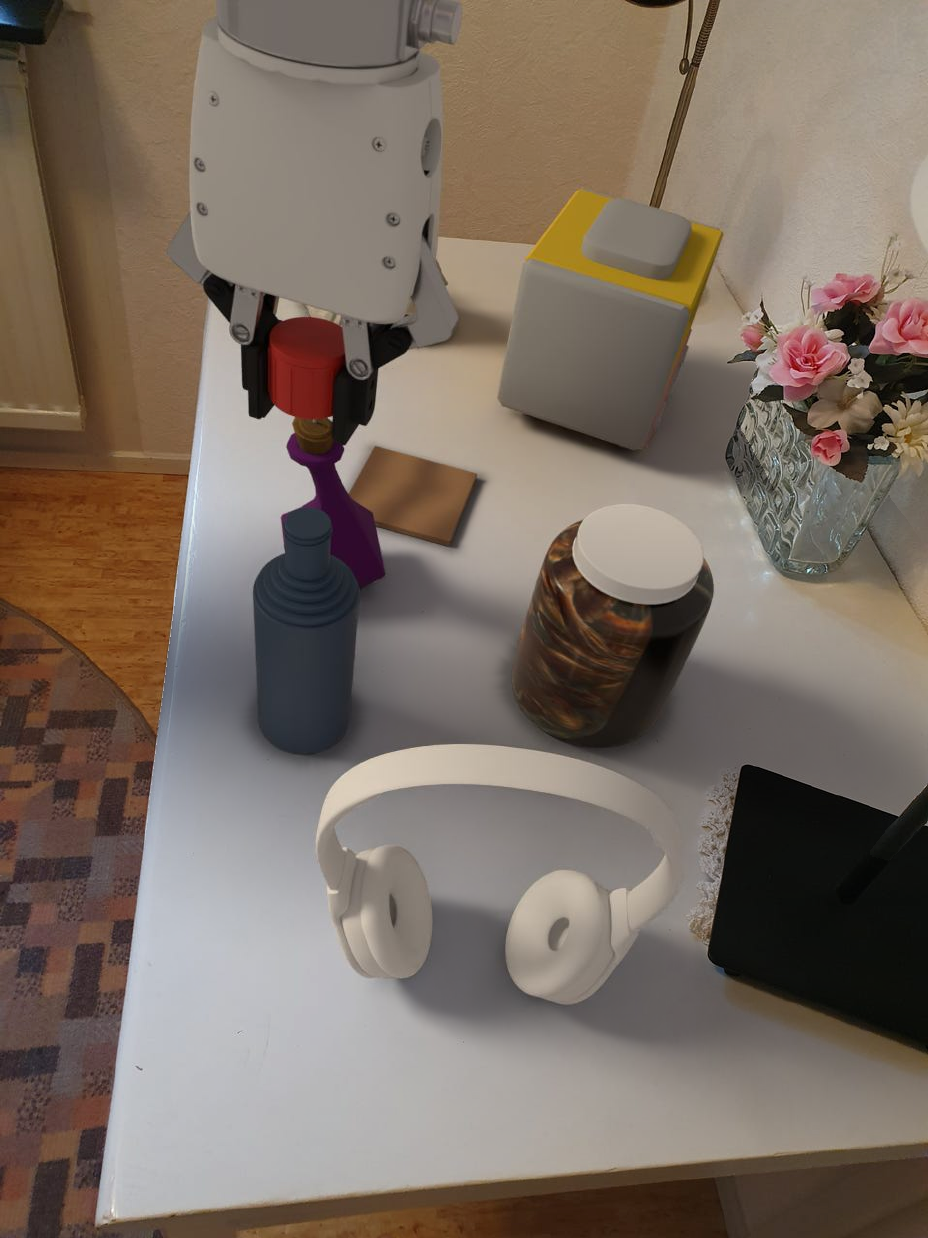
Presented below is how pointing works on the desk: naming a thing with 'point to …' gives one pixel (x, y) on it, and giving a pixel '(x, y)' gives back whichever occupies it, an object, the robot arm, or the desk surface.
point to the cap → (304, 366)
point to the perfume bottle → (336, 500)
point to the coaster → (413, 494)
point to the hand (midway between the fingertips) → (308, 413)
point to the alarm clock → (606, 317)
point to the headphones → (547, 913)
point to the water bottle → (305, 638)
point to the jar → (611, 625)
